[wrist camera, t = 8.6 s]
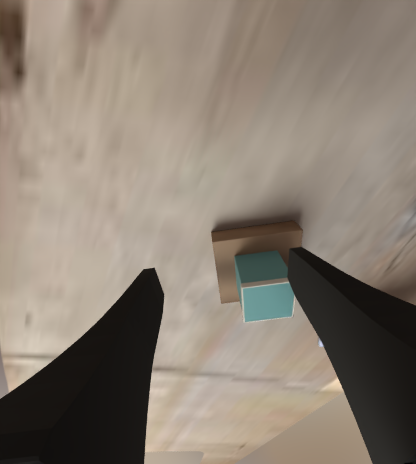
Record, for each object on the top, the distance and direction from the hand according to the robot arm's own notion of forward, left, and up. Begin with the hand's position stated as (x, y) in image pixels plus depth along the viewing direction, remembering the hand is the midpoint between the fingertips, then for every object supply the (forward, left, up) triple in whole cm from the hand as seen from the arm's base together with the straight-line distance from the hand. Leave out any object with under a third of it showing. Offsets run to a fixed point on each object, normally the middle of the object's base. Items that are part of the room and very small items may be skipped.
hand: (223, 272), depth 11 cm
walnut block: (-8, -4, -11) cm, 14 cm away
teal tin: (-8, -4, -9) cm, 12 cm away
